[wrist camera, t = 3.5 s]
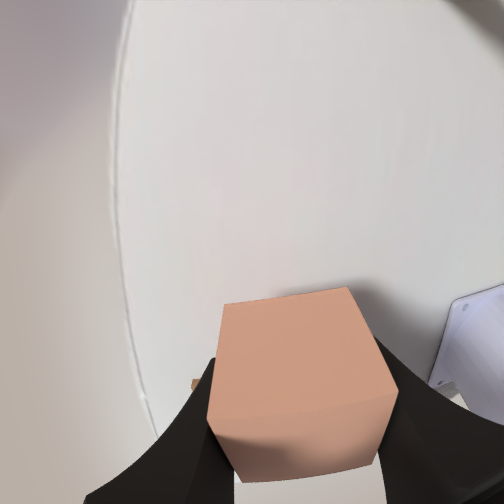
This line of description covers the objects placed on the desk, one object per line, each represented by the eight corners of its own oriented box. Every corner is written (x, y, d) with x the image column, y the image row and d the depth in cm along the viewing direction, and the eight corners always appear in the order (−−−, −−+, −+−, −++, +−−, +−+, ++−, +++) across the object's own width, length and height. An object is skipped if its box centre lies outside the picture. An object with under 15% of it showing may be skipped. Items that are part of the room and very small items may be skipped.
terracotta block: (347, 286, 10) (398, 391, 6) (344, 370, 12) (371, 464, 7) (224, 304, 10) (206, 418, 6) (245, 384, 12) (242, 482, 8)
